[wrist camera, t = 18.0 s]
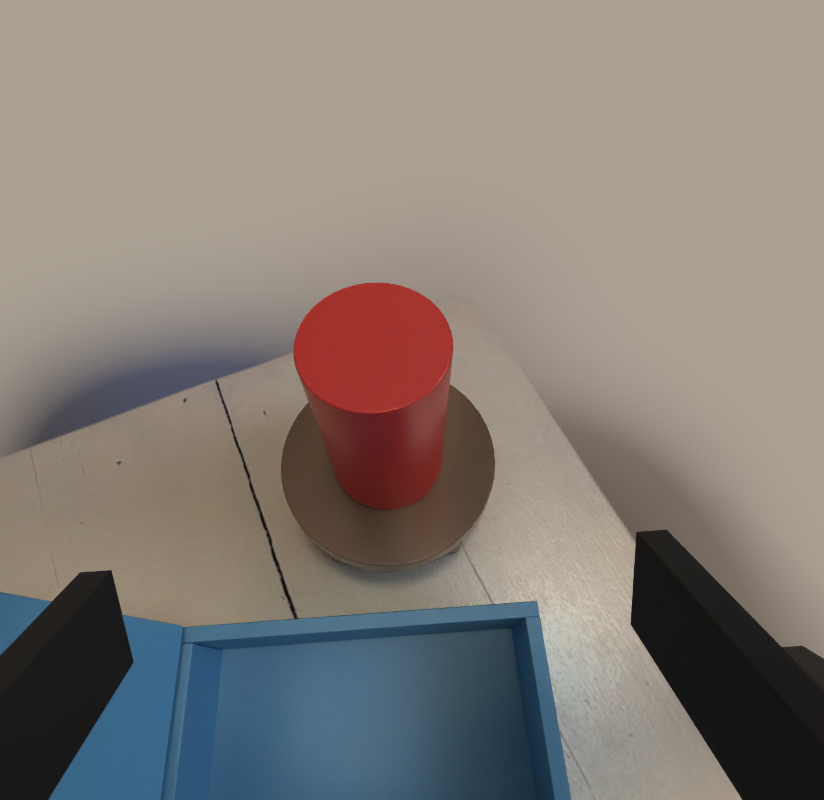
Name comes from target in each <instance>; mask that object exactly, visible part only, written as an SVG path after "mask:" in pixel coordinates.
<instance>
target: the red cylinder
mask: <svg viewBox="0 0 824 800" xmlns="http://www.w3.org/2000/svg"><path fill="white" fill-rule="evenodd" d="M452 354H453V338H452V334H451V330H450V327H449V325H448V322H447V320H446V319H445V317H444V315H443V314H442V313H441V311H440V310H439V309H438V308H437V307H436V306H435V305H434V304H433V303H432V302H431V301H430V300H429V299H427V298H426V297H425V296H422V295H421V294H419V293H418V292H416V291H413V290H411V289H409V288H406V287H403V286H399V285H394V284H389V283H365V284H359V285H354V286H350V287H347V288H344V289H341V290H339V291H337V292H334V293H333V294H331V295H329V296H327V297H326V298H324V299H323V300H321V301H320V302H319V303H318V304H317V305H315V306H314V307H313V308H312V309H311V310H310V312H309V313H308V314H307V315H306V317H305V318H304V320H303V321H302V323H301V325H300V327H299V329H298V331H297V334H296V338H295V342H294V361H295V366H296V369H297V372H298V374H299V377H300V380H301V382H302V385H303V388H304V391H305V393H306V396H307V399H308V401H309V404H310V407H311V409H312V412H313V415H314V418H315V420H316V423H317V426H318V428H319V431H320V434H321V437H322V439H323V442H324V445H325V447H326V450H327V453H328V456H329V458H330V461H331V464H332V466H333V469H334V472H335V475H336V477H337V480H338V482H339V484H340V485H341V487H342V488H343V489H344V491H345V492H346V493H347V494H348V495H349V496H350V497H351V498H353V499H354V500H355V501H357V502H359V503H361V504H363V505H365V506H368V507H372V508H375V509H397V508H401V507H405V506H407V505H410V504H412V503H414V502H415V501H417V500H419V499H420V498H421V497H423V496H424V495H425V494H426V493H427V492H428V491H429V490H430V489H431V487H432V486H433V485H434V483H435V481H436V480H437V478H438V475H439V473H440V469H441V463H442V453H443V443H444V433H445V423H446V413H447V404H448V394H449V384H450V374H451V364H452Z"/></svg>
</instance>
